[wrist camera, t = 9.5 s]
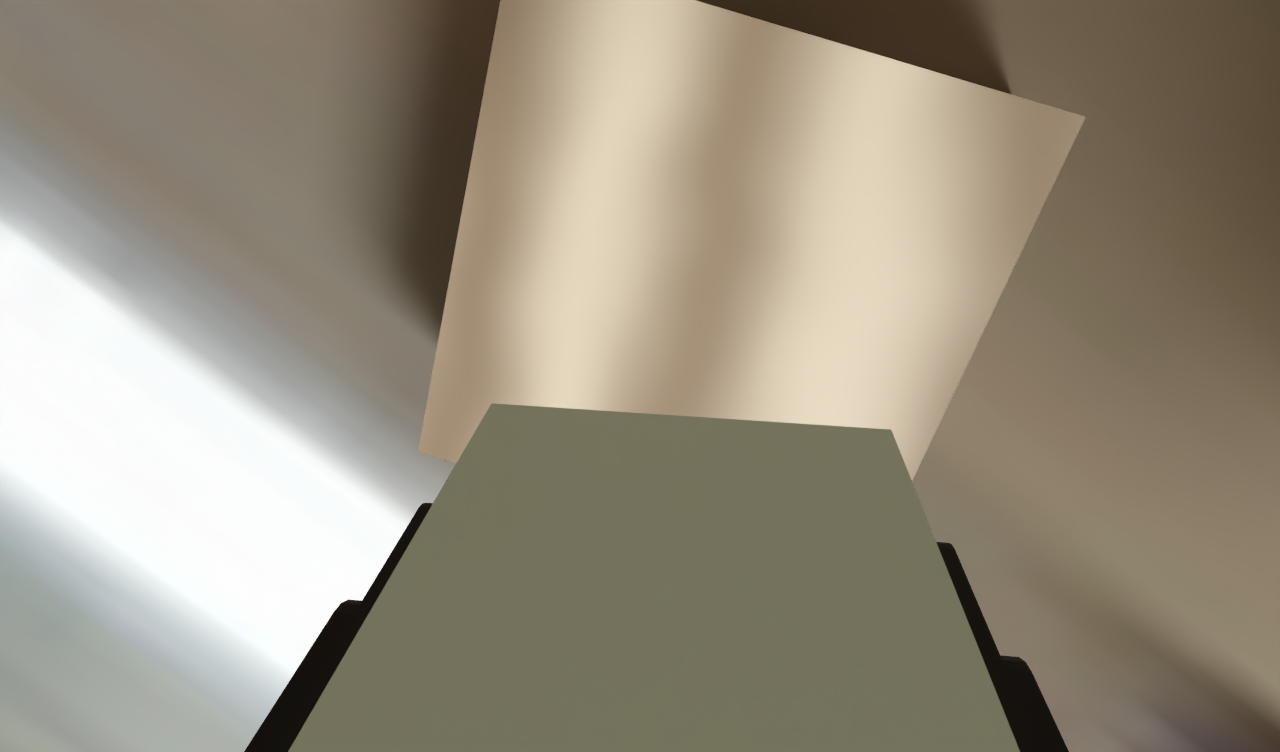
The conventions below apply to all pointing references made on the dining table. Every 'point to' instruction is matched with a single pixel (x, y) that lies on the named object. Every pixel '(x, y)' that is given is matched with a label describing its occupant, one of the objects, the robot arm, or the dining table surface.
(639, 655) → the sage block
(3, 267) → the dining table surface
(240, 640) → the dining table surface
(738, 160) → the birch block
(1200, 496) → the dining table surface
